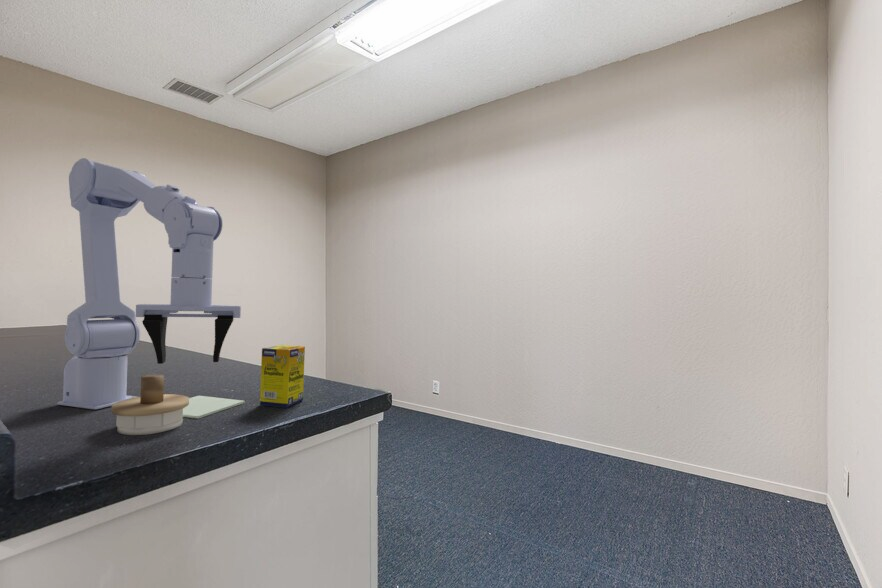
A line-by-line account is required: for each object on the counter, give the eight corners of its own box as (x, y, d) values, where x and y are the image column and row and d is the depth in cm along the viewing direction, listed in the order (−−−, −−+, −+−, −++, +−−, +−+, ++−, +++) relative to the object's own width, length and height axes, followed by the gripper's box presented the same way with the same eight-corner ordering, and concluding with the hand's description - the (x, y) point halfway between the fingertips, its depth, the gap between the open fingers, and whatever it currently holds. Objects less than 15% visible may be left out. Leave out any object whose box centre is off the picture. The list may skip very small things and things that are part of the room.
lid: (94, 412, 62) (95, 379, 62) (156, 396, 72) (156, 368, 72) (146, 419, 60) (147, 385, 60) (203, 402, 69) (204, 373, 69)
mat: (146, 411, 73) (147, 409, 73) (198, 397, 84) (198, 395, 84) (198, 418, 70) (198, 416, 70) (244, 402, 81) (245, 400, 81)
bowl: (103, 431, 63) (104, 411, 63) (154, 416, 71) (155, 398, 71) (147, 437, 61) (147, 417, 61) (195, 421, 69) (195, 403, 69)
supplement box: (287, 408, 78) (289, 349, 78) (258, 405, 79) (260, 347, 79) (304, 400, 84) (305, 345, 84) (277, 398, 85) (278, 344, 85)
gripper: (131, 275, 62) (128, 367, 62) (240, 279, 67) (237, 364, 67) (143, 276, 68) (140, 360, 68) (242, 280, 74) (239, 357, 74)
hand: (189, 361), depth 68 cm, fingers open, 7 cm apart
